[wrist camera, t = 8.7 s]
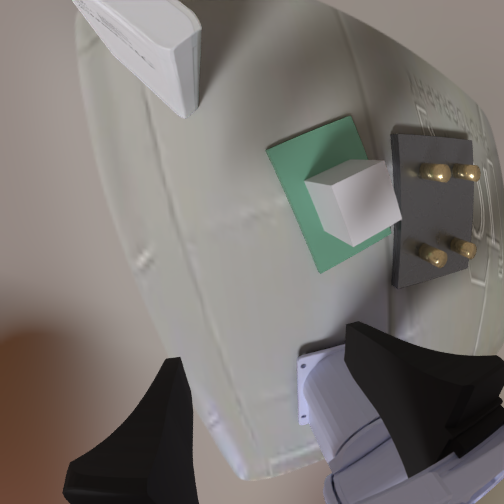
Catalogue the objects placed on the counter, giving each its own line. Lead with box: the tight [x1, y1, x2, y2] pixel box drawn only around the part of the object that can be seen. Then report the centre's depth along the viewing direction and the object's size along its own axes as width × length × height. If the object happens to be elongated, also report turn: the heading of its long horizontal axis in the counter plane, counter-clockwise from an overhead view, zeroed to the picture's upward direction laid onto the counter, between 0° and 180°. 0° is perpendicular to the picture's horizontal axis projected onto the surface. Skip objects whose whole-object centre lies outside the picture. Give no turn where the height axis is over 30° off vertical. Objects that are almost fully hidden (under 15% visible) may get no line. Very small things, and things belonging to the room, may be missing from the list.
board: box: [266, 116, 402, 274], centre depth 19 cm, size 10×7×5 cm
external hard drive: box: [72, 0, 202, 119], centre depth 11 cm, size 2×8×12 cm, turn 43°
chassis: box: [391, 134, 480, 289], centre depth 22 cm, size 13×10×4 cm
